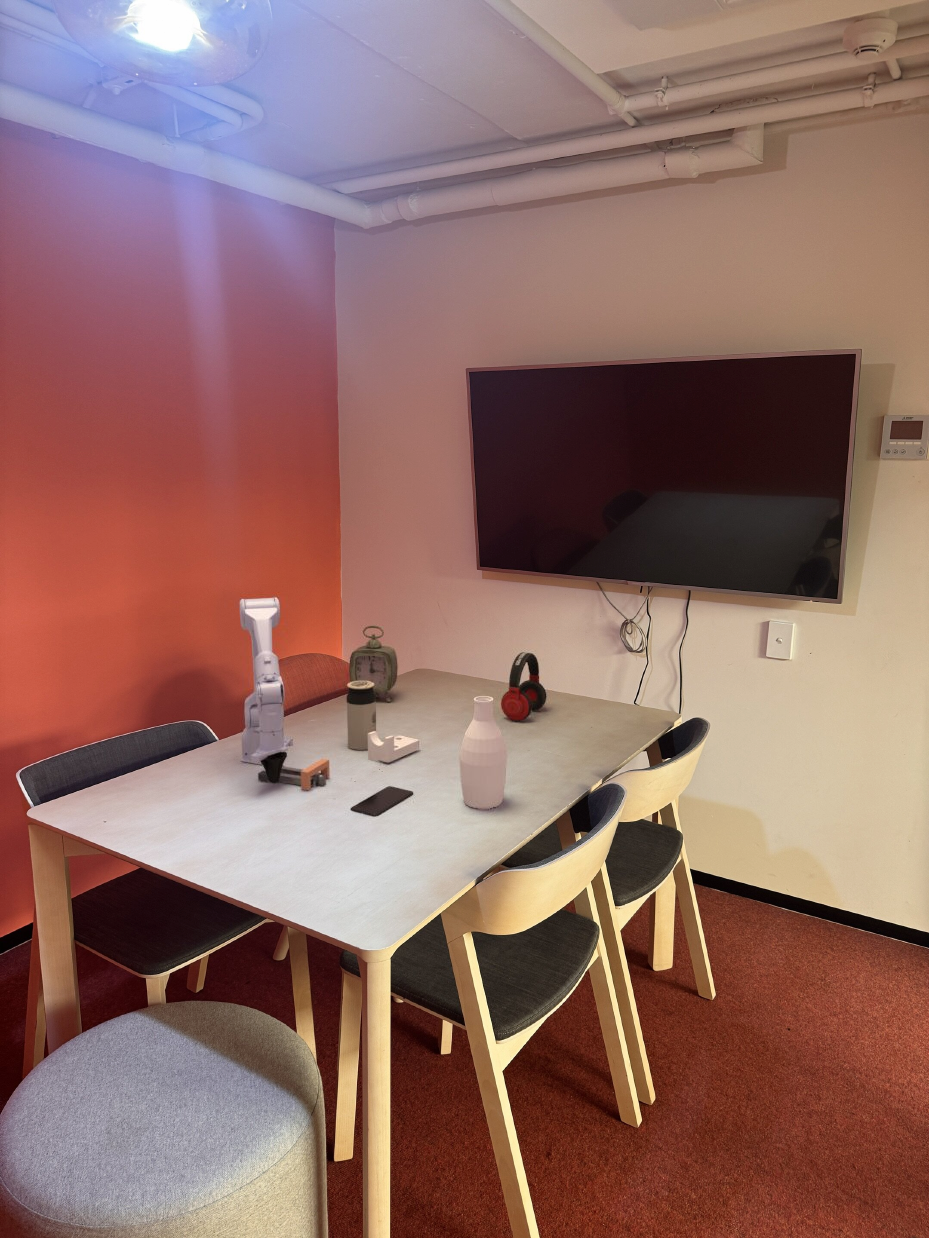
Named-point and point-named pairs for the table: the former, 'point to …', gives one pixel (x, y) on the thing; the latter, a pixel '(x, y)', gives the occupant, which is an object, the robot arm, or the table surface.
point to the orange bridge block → (314, 772)
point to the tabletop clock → (374, 665)
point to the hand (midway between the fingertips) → (273, 781)
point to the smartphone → (382, 801)
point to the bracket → (390, 747)
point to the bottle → (483, 758)
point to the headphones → (523, 689)
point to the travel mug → (360, 713)
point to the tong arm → (284, 778)
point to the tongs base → (318, 777)
